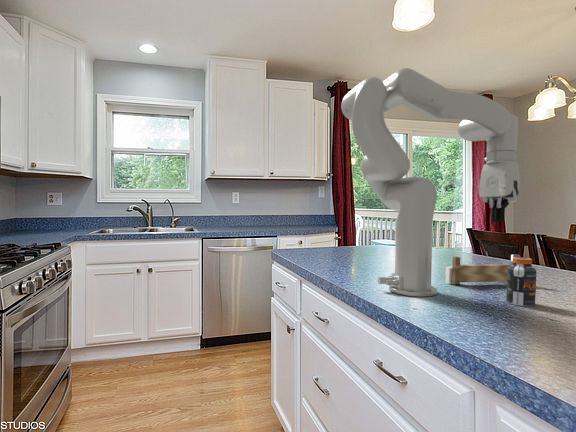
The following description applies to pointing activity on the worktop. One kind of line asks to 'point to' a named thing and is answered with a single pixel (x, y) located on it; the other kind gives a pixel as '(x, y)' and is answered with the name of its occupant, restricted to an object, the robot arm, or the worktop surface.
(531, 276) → the pill bottle
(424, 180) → the robot arm
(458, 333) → the worktop surface
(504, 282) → the hinge post
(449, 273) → the block
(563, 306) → the worktop surface
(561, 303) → the worktop surface
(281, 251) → the worktop surface
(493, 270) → the gate
